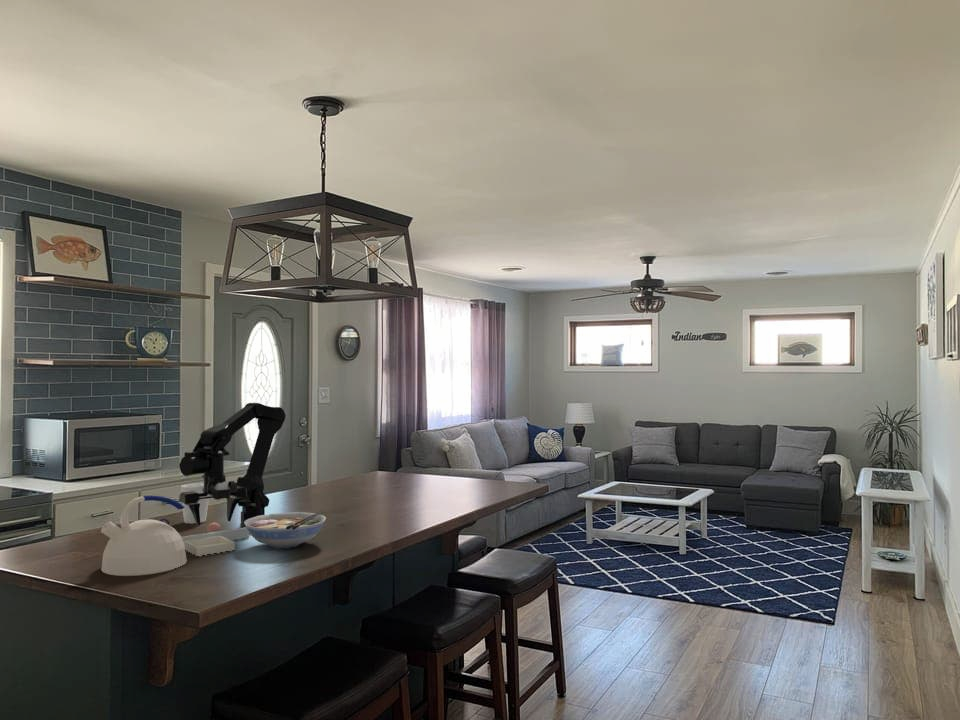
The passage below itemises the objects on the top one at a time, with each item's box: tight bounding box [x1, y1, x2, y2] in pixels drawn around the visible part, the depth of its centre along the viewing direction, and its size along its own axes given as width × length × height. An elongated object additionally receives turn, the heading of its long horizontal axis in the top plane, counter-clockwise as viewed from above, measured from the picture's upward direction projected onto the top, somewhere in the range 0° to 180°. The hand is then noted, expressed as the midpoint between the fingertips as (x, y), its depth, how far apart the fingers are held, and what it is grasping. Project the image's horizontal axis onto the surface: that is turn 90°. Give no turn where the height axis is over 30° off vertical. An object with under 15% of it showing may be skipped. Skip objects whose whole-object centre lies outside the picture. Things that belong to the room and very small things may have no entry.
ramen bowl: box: [244, 510, 327, 549], centre depth 215 cm, size 25×23×8 cm
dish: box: [184, 536, 236, 557], centre depth 210 cm, size 10×10×2 cm
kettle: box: [100, 495, 188, 577], centre depth 195 cm, size 20×21×18 cm
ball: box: [206, 521, 222, 533], centre depth 228 cm, size 4×4×4 cm
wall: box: [181, 527, 250, 542], centre depth 219 cm, size 20×1×3 cm, turn 130°
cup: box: [179, 482, 210, 525], centre depth 249 cm, size 9×9×12 cm
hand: (213, 523), depth 228 cm, fingers open, 9 cm apart
